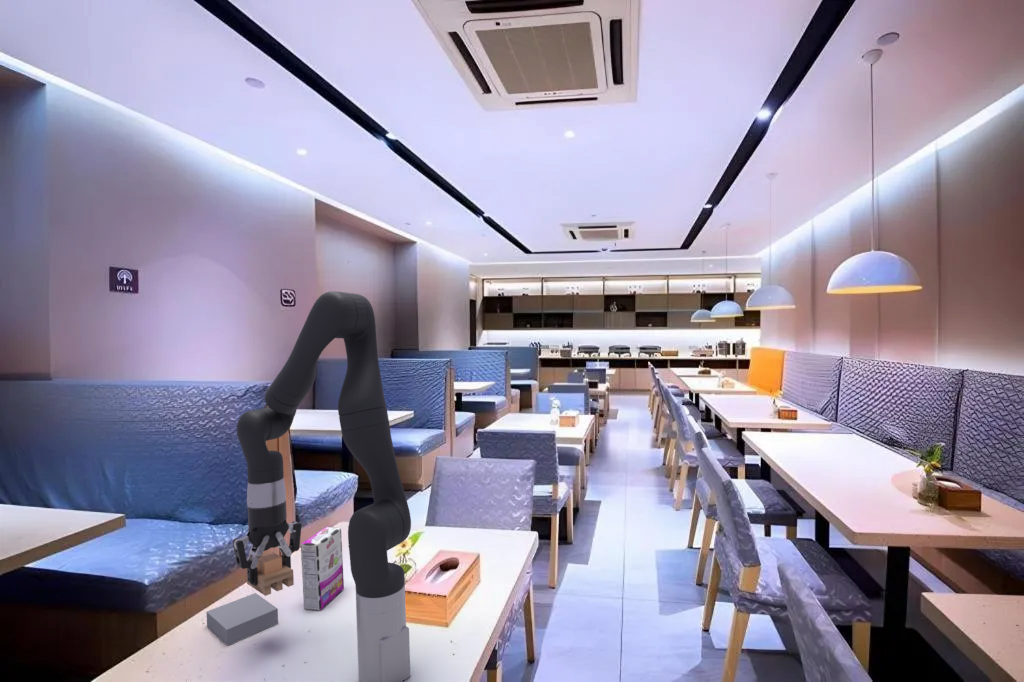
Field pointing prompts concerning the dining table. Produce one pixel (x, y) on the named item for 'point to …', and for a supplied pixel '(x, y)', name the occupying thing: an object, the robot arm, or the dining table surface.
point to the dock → (241, 618)
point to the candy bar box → (322, 568)
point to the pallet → (274, 580)
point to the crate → (269, 563)
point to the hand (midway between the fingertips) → (270, 578)
